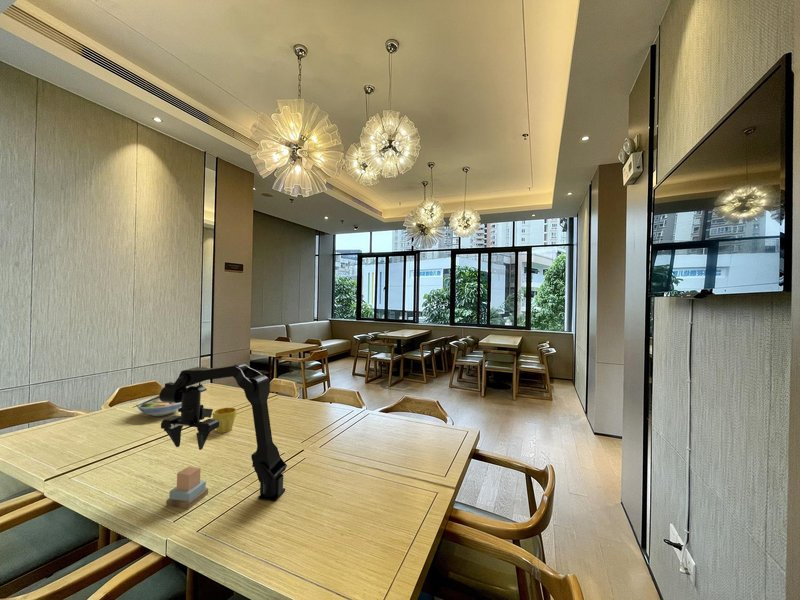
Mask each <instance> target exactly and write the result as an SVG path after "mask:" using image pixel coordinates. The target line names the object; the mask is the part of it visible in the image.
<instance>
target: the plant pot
mask: <svg viewBox="0 0 800 600" xmlns="http://www.w3.org/2000/svg"><path fill="white" fill-rule="evenodd" d="M237 410H238V409H237V408H235V407H229V406H228V407H222V408H217V409H216V410H213V411H212V419H217V420H218V421H219V427H218V428H216V429H215V430H216V432H217V433H220V434H223V433H228V432H230V431H232V430H233V428H234V427H233V426H234V422H235V419H236V417H237V413H238V411H237Z"/></svg>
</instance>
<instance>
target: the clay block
mask: <svg viewBox="0 0 800 600" xmlns="http://www.w3.org/2000/svg"><path fill="white" fill-rule="evenodd" d="M201 469H202V468H201V467H197V466H189V465H188V466H187V467H185V468H184V469H182V470H180V471H178V472H177V474H176V487H177V489H180V490H186V491H189V490H191V489H192V488H194V487H195V486H197V485H198V484H199V483H200V481H201Z"/></svg>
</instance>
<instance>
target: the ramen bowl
mask: <svg viewBox="0 0 800 600" xmlns="http://www.w3.org/2000/svg"><path fill="white" fill-rule="evenodd" d="M136 407H137V409H138V410H139V411H140V412H141V413H143V414H146V415H148V416H153V417H165V416H168V415H170V414H172V413H175V412H177V411H178V409H179V408H181V402H180V403H170V402H162V401H161V400H160V399H159V395H157V396H155V397H150V398H146V399H143V400H140V401H139V402H137V403H136V405H134V406H133V407H132V408H136ZM132 408H131V409H132Z"/></svg>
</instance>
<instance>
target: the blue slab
mask: <svg viewBox="0 0 800 600" xmlns="http://www.w3.org/2000/svg"><path fill="white" fill-rule="evenodd" d="M206 485H207V481H205V480H200V483H199V484H198V485H197V486H195V487H194V488H192V489H191V490H189V491H186V490H180V489H177V486H175V487H174V488H172V489H170V491H169V492H168V493H169V495H168V496H169V497H168V499H171V500H180V501H189V502H190V501H191V500H192V499H193V498H195V497H196V496H197V495H198V494H200V493H201V492H202V491H203V490H205V489H206V488H207V486H206Z"/></svg>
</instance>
